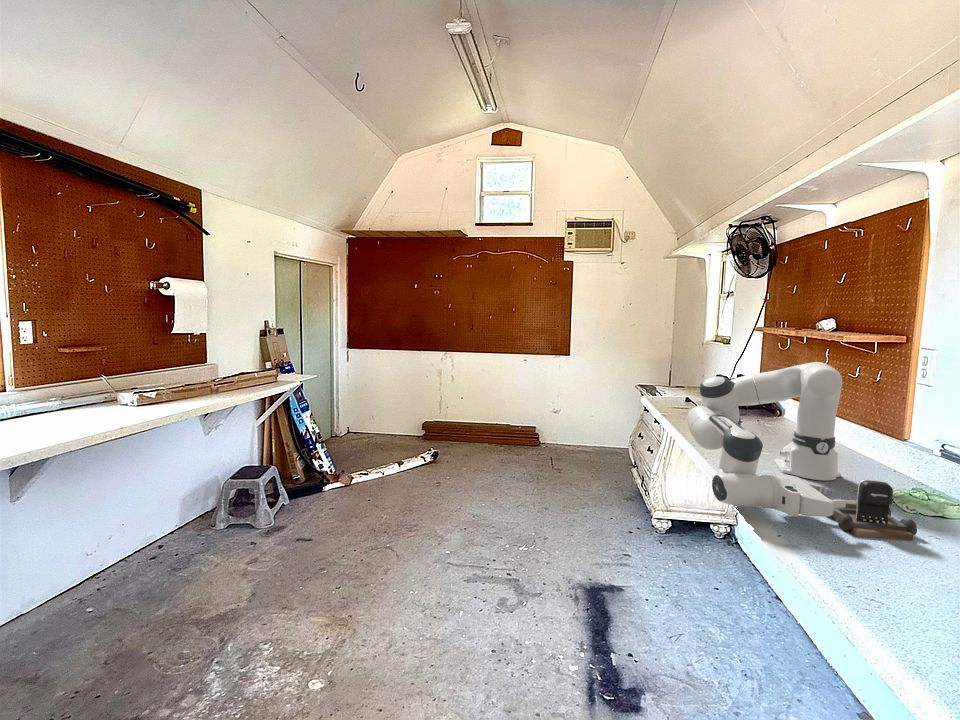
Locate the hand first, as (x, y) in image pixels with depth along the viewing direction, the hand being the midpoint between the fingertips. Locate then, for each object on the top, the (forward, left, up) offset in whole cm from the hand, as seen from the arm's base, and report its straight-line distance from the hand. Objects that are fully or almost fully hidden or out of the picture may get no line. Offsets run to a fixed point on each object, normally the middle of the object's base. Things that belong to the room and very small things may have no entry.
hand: (834, 496), depth 133 cm
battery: (+2, +9, -6) cm, 11 cm away
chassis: (-1, +9, -8) cm, 12 cm away
